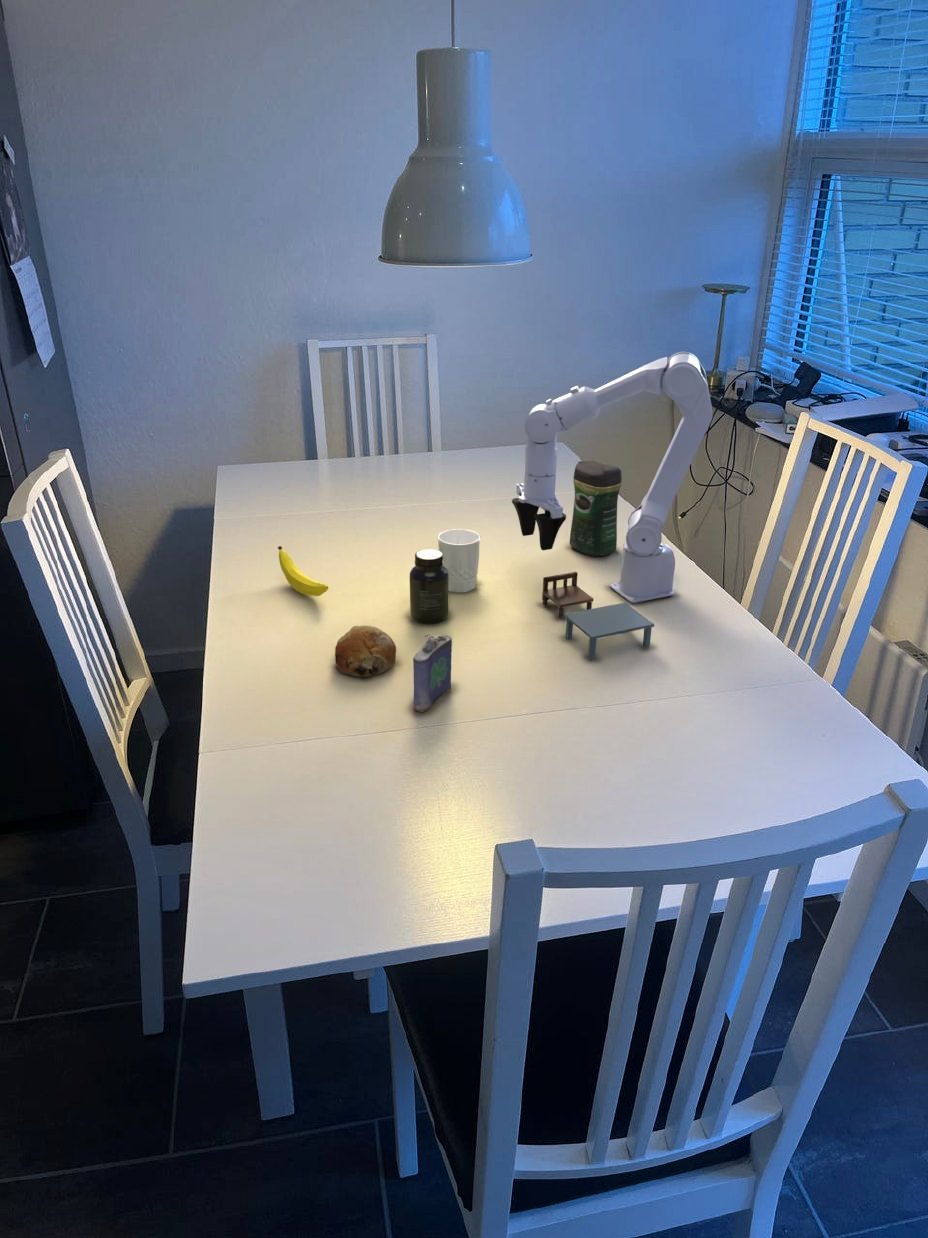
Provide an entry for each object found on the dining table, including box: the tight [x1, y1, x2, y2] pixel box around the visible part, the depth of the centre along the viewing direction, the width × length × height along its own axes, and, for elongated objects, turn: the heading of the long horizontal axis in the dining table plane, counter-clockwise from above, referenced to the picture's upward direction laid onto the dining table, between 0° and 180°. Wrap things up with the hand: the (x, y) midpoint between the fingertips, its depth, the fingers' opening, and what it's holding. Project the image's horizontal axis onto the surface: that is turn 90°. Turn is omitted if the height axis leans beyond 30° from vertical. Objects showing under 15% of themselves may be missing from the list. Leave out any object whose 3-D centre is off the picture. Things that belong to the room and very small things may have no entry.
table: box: [564, 602, 655, 661], centre depth 161 cm, size 12×9×4 cm
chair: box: [541, 571, 594, 620], centre depth 173 cm, size 7×7×6 cm
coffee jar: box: [569, 458, 623, 557], centre depth 195 cm, size 10×8×19 cm
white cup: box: [437, 528, 481, 593], centre depth 180 cm, size 8×8×10 cm
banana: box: [277, 545, 329, 597], centre depth 177 cm, size 3×19×6 cm, turn 36°
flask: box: [412, 633, 453, 713], centre depth 143 cm, size 9×3×11 cm, turn 151°
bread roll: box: [334, 625, 397, 678], centre depth 154 cm, size 10×10×8 cm
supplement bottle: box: [409, 548, 450, 625], centre depth 168 cm, size 7×7×12 cm
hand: (536, 541), depth 180 cm, fingers open, 7 cm apart
